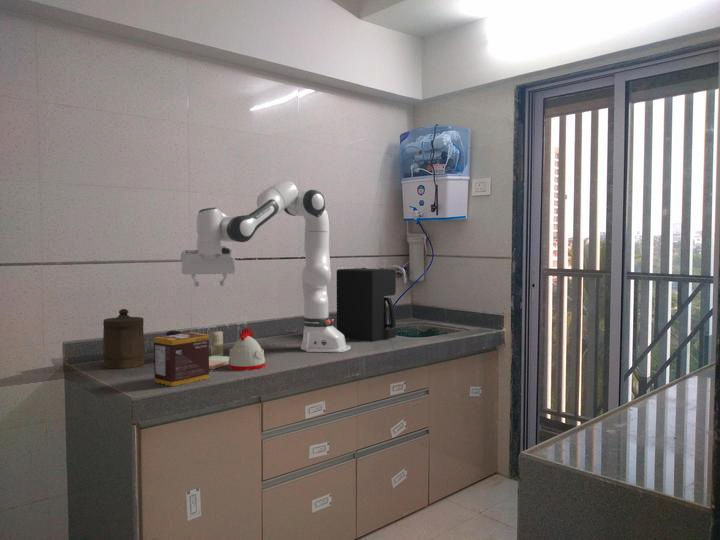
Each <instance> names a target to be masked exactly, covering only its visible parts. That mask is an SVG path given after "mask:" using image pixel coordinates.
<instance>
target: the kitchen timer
mask: <svg viewBox="0 0 720 540" xmlns="http://www.w3.org/2000/svg"><path fill="white" fill-rule="evenodd" d="M253 334H254V332H252V330H251V329H249V327H246V328H244V329H241V333H239V339H238V340H236V342H235V344H234V345H233V347H232V348H230V349H229V351H228V353H229V354H228V355H229V362H228V364H227V365H228V369H229V370H232V371H238V370H239V371H241V372H243V371H242V370H248V371H255V370H254V369H257V370H261V369H264V368H265V367H266V359H265V351H264V349H263V348H262V347H261V345H260V344H259V343H258V341H257V340H256V339H255V338H253ZM263 367H264V368H263ZM260 368H261V369H260Z"/></svg>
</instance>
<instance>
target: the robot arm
mask: <svg viewBox="0 0 720 540" xmlns="http://www.w3.org/2000/svg"><path fill="white" fill-rule="evenodd" d="M256 206H257V208H255V209H254V210H253V211H252V212H249V214H245V215H238V216H229V215H227V214H225V213H223V212H222V211H220V209H219V208H217V207H207V208H203V209H200V210H199V211H198V213H197V218H196V234H197V240H196V249H191V250H190V249H184V251H182V252H181V253H180V260H181V262H182V263H181V274H183V275H190V277H191V279H192V280H193V283H194V287H199V286H200V285H199V284H200V282H199V281H197V280H196V277H197V276H196V275H222V280H219V287H221V286H224V287H225V281H226V280H227V277H228V274H229V275H232V274H235V273H236V272H237V264H236V259H235V256H234V255H232V254H233V253H234V251H233V249H232V248H229V247H226V246H223V245H222V243H221V242H232V243H233V242H237V243H246V242H249V240H251V239H253V236H254V235H255V233H256V232H257V230H258V229H259V228H260V227H261V226H263V225H264V224H266V222H268V221H269V220H271V219H272V218H273V217H274V216H276V215H277V214H279V213H281V212H282V211H284V212H285V213H286V214H287V215H289V216H293V217H296V216H297V217H298V216H300V217H303V218H304V221H305V223H304V256H305V258H304V259H305V265H304V267H303V268H302V270H301V271H302V272H301V279H302V280H301V283H302V293H303V318H302V327H303V336H302V340H301V341H302V342H301V345H300V346H301V347H300V349H301V350H302V351H305V352H307V353H344V352H347V351H349V350H351V345H350V344H347V343H346V338H345V337H344V335H343V334H342V333H341V332H340V331H338V330H337V327H335V326H334V325H333V322H334V318H331V317H330V316H329V315H330V313H329V296H328V290H327V288H328V287H327V285H328V284H329V283H330V281H331V279H332V272H331V258H330V222H329V215H328V211H327V210H326V202H325V196H324V194H323V193H322V192H321V191H319V190H316V189H301V190H298V188H297V186H296V184H295V183H294V182H292V181H291V180H282V181H280V182H277V183H274V184H273V185H271V186H269V187H268V188H266V189H265V190H263V191H262V192H260V194H259V195H258V196H257V197H256Z"/></svg>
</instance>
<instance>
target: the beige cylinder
mask: <svg viewBox="0 0 720 540" xmlns="http://www.w3.org/2000/svg"><path fill="white" fill-rule="evenodd" d="M213 355H214V356H224V332H223V331H221V330H218V331H217V330H216V331H210V356H213Z"/></svg>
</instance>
